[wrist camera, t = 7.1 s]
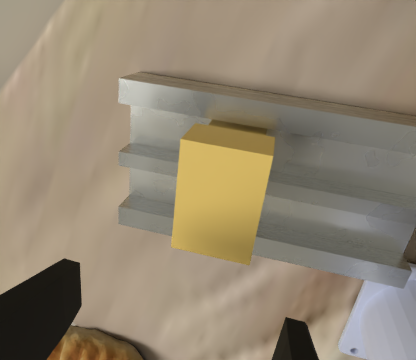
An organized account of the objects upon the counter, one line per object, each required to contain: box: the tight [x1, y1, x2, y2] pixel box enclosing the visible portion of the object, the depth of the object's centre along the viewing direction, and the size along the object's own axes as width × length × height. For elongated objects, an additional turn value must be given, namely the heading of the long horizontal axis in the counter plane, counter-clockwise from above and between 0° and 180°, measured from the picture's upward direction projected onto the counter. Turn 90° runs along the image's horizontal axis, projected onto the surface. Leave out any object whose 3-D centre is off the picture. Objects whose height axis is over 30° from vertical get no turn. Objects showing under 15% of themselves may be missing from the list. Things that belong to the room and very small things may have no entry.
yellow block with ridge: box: [171, 119, 275, 265], centre depth 16 cm, size 4×5×5 cm
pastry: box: [47, 325, 143, 360], centre depth 28 cm, size 9×7×4 cm
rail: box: [119, 72, 416, 289], centre depth 18 cm, size 16×8×2 cm, turn 83°
